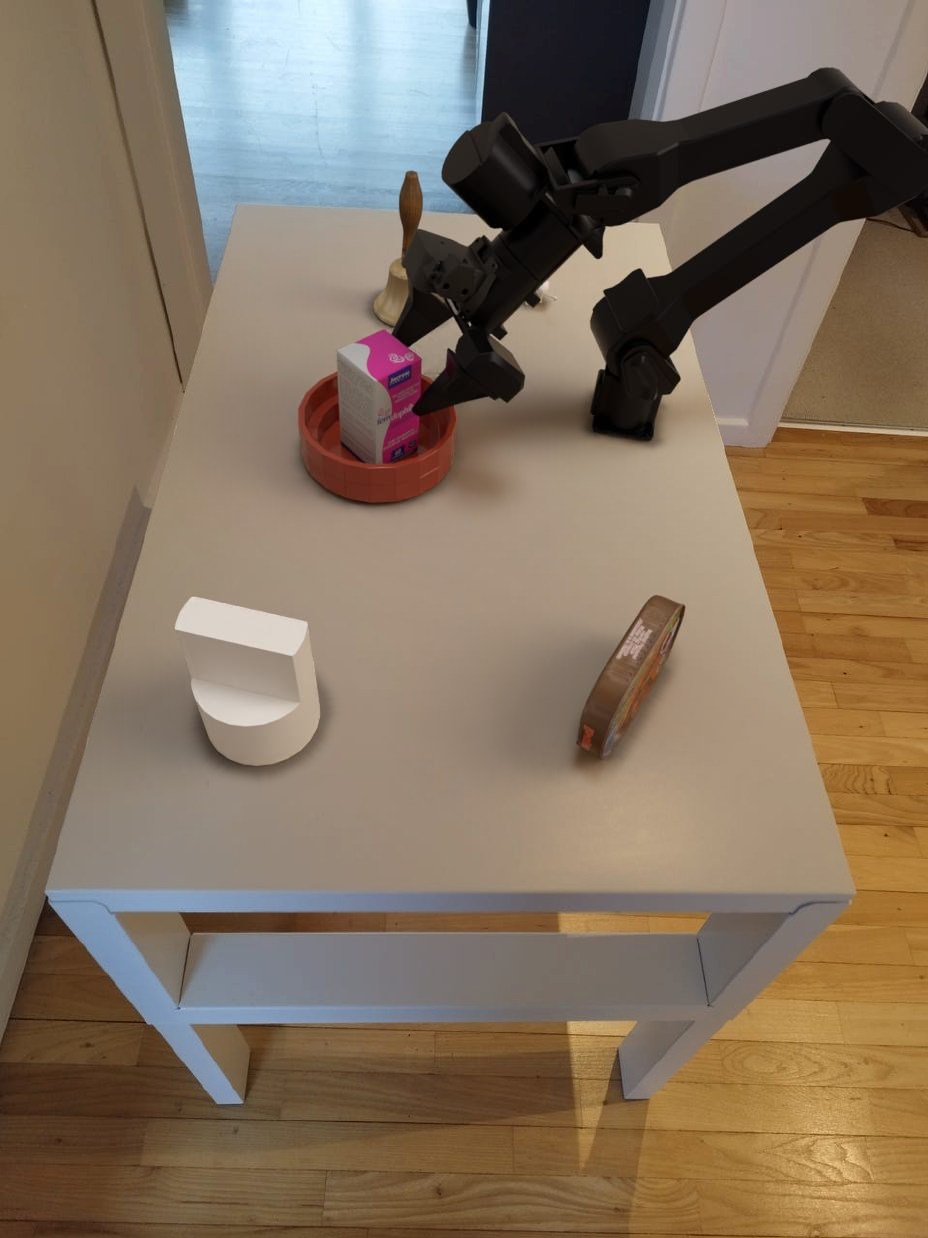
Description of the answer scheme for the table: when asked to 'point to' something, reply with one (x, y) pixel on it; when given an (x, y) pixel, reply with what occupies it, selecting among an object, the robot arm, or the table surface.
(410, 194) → the hand bell
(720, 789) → the table surface
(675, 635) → the tin
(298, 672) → the base with upright slab
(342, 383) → the supplement box
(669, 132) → the robot arm
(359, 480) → the bowl
